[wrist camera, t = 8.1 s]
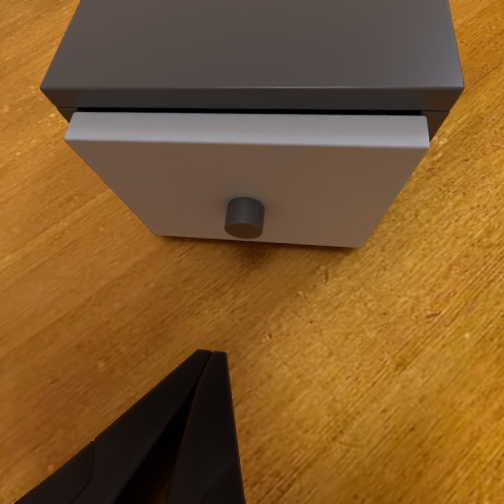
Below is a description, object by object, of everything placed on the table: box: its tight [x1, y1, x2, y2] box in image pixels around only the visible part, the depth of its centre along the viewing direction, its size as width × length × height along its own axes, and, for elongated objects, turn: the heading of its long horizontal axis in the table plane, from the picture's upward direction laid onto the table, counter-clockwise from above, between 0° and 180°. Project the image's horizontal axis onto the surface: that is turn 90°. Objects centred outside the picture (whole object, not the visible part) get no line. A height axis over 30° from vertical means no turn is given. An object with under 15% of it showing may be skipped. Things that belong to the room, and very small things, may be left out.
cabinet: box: [40, 0, 465, 142], centre depth 16 cm, size 14×13×10 cm
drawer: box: [64, 108, 430, 248], centre depth 15 cm, size 14×11×8 cm
